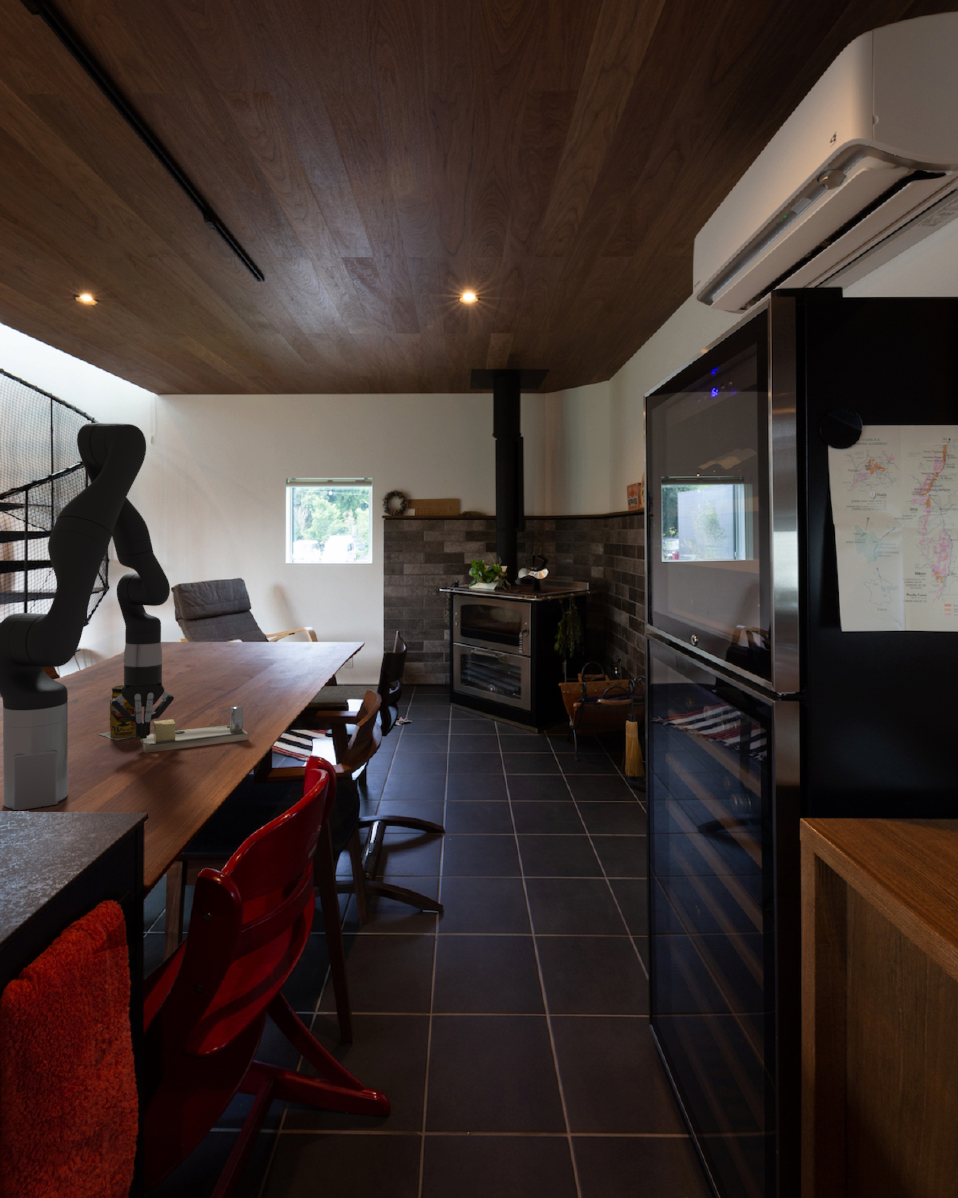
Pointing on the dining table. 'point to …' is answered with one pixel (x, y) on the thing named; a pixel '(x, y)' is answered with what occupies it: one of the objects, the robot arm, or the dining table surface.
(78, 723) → the dining table surface
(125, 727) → the condiment
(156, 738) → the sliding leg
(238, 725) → the silver cylinder with leg
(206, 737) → the board
